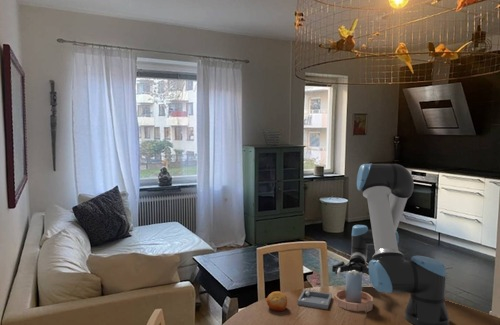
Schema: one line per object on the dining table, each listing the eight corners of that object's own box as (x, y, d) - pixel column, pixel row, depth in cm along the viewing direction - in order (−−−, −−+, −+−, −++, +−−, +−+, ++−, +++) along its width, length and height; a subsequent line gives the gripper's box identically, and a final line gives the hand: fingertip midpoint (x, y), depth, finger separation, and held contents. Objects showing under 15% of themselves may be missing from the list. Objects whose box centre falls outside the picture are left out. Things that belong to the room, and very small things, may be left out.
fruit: (287, 300, 156) (287, 288, 152) (286, 318, 150) (287, 305, 145) (267, 299, 157) (267, 287, 153) (266, 316, 151) (266, 304, 146)
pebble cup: (361, 300, 159) (362, 269, 158) (360, 306, 153) (361, 273, 152) (346, 298, 161) (346, 267, 160) (344, 304, 155) (345, 272, 154)
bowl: (373, 300, 161) (373, 292, 161) (371, 315, 147) (372, 306, 147) (336, 295, 166) (337, 287, 166) (332, 309, 152) (332, 300, 152)
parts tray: (331, 299, 162) (331, 293, 161) (327, 311, 150) (327, 304, 150) (303, 295, 166) (303, 289, 165) (297, 306, 154) (297, 299, 154)
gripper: (385, 273, 177) (385, 290, 157) (330, 267, 186) (324, 282, 166) (385, 257, 177) (385, 272, 157) (331, 252, 185) (324, 265, 165)
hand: (354, 277), depth 161 cm, fingers open, 13 cm apart
